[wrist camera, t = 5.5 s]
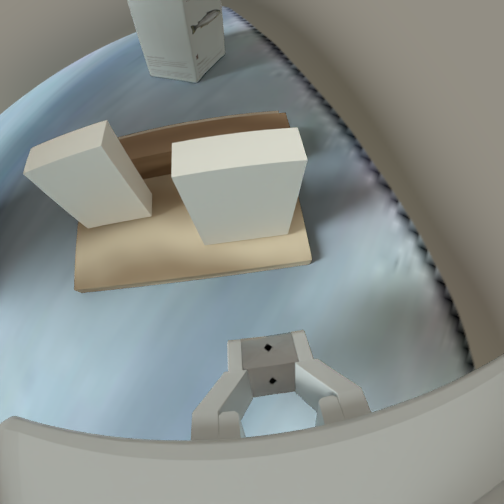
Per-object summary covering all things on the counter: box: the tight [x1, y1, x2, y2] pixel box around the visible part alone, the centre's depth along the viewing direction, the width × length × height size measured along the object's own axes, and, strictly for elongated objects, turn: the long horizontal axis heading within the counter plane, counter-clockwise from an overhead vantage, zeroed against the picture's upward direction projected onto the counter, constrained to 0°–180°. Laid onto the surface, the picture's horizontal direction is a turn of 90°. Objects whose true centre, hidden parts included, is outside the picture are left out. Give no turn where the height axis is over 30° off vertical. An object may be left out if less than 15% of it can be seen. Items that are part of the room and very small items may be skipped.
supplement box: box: [127, 0, 225, 83], centre depth 24 cm, size 7×7×13 cm
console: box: [74, 111, 312, 293], centre depth 21 cm, size 12×19×4 cm, turn 98°
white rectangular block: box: [171, 127, 307, 245], centre depth 17 cm, size 2×6×9 cm, turn 98°
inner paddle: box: [23, 120, 152, 228], centre depth 17 cm, size 2×6×9 cm, turn 98°
